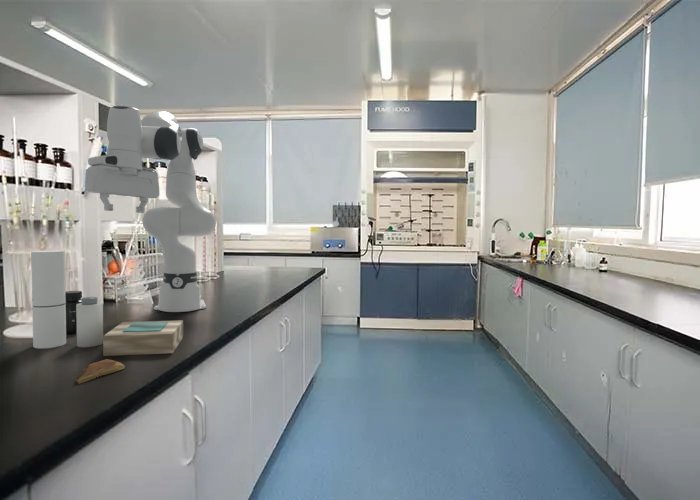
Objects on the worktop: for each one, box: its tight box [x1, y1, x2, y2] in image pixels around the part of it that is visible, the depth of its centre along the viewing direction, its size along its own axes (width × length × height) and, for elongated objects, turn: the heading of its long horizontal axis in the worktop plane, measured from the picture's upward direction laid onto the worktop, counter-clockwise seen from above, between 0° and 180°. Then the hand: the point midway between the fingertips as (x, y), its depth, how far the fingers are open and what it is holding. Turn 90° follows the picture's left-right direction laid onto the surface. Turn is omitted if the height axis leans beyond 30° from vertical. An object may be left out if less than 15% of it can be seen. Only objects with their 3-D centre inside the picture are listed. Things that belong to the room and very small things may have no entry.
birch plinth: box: [102, 319, 184, 357], centre depth 111 cm, size 15×16×5 cm
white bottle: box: [76, 296, 104, 348], centre depth 111 cm, size 6×6×13 cm
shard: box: [75, 358, 126, 385], centre depth 90 cm, size 11×8×2 cm
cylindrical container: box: [30, 249, 67, 350], centre depth 109 cm, size 7×7×25 cm
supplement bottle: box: [65, 290, 83, 335], centre depth 123 cm, size 7×7×12 cm
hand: (125, 211), depth 118 cm, fingers open, 8 cm apart
